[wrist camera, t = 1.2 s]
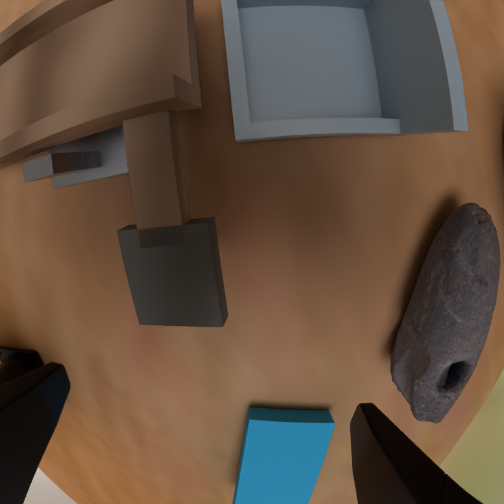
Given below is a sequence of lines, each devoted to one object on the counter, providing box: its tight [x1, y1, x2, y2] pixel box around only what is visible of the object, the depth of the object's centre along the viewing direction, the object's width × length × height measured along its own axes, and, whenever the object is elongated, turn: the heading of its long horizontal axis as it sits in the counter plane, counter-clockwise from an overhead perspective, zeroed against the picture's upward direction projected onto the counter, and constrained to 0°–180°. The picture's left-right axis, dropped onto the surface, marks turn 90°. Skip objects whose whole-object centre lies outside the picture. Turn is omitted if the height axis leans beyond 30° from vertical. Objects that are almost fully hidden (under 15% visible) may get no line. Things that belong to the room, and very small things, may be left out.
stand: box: [23, 125, 128, 189], centre depth 13 cm, size 6×11×6 cm, turn 6°
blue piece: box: [233, 407, 335, 504], centre depth 25 cm, size 7×7×18 cm
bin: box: [221, 0, 468, 143], centre depth 12 cm, size 9×9×8 cm
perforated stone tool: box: [390, 203, 500, 424], centre depth 17 cm, size 15×5×7 cm, turn 172°
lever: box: [0, 0, 228, 327], centre depth 11 cm, size 17×16×4 cm
